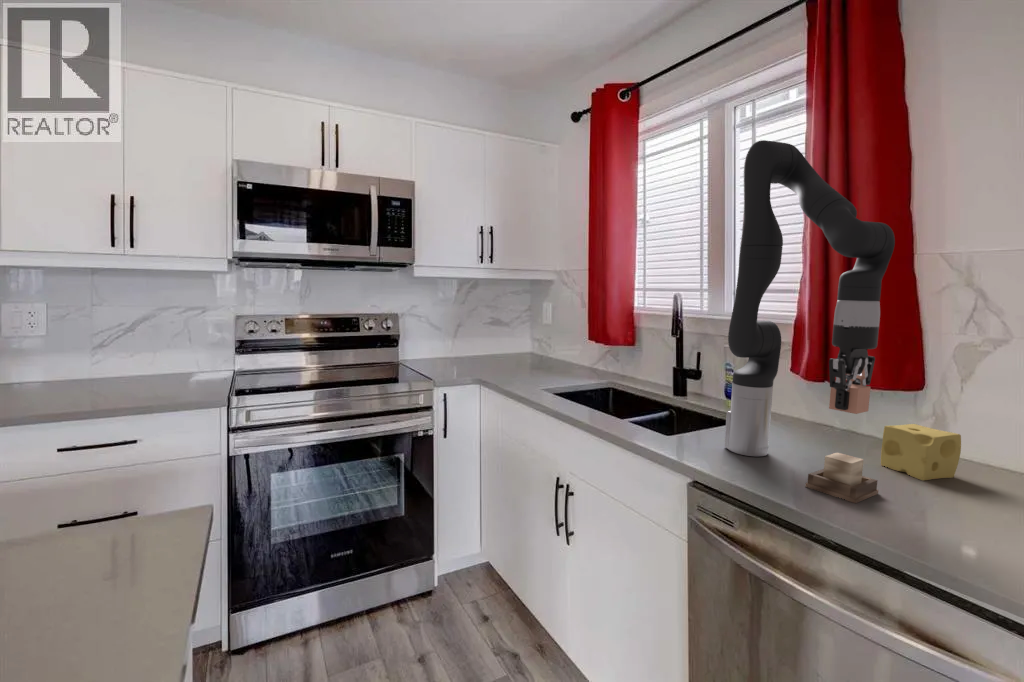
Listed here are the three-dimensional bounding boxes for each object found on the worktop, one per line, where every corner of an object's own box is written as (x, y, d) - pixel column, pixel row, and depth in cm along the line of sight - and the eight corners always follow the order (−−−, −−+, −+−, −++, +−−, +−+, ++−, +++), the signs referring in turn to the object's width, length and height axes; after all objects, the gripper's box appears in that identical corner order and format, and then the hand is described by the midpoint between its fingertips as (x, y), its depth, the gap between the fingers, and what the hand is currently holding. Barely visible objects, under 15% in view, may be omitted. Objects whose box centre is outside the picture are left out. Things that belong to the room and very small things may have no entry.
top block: (829, 408, 103) (831, 384, 103) (841, 406, 106) (843, 382, 105) (856, 413, 99) (858, 388, 99) (868, 411, 102) (870, 386, 101)
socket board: (805, 486, 106) (806, 473, 105) (828, 478, 111) (829, 466, 111) (855, 503, 98) (857, 489, 98) (878, 493, 103) (879, 480, 103)
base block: (822, 484, 105) (825, 456, 104) (834, 479, 108) (837, 452, 107) (848, 492, 101) (851, 463, 100) (860, 487, 103) (863, 459, 103)
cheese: (923, 481, 111) (928, 437, 110) (876, 464, 121) (880, 423, 120) (958, 478, 113) (963, 434, 112) (909, 462, 124) (914, 421, 123)
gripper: (852, 322, 108) (845, 400, 109) (817, 323, 100) (810, 407, 102) (894, 324, 101) (885, 408, 103) (859, 325, 94) (851, 415, 96)
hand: (848, 407), depth 103 cm, fingers closed on top block, 5 cm apart
